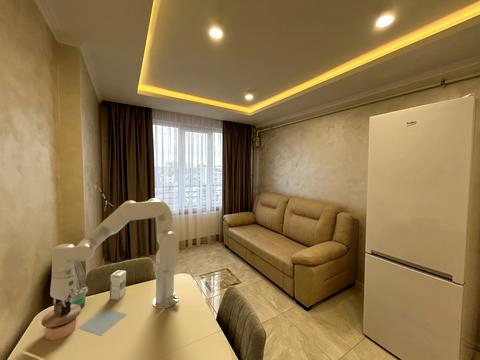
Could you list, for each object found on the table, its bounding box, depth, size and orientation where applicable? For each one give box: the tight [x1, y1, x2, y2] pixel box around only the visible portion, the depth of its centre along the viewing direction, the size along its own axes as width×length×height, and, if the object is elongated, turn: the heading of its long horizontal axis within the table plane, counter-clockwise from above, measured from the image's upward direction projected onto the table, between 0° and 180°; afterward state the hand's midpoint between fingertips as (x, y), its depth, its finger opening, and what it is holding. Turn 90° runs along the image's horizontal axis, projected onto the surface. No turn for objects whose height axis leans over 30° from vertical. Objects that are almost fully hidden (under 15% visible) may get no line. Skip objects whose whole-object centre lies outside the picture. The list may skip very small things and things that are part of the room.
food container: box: [71, 284, 89, 310], centre depth 102 cm, size 12×6×10 cm, turn 168°
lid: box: [41, 300, 82, 328], centre depth 88 cm, size 13×13×6 cm
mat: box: [77, 307, 128, 337], centre depth 95 cm, size 14×14×1 cm
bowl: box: [44, 315, 79, 341], centre depth 88 cm, size 10×10×5 cm
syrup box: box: [109, 269, 127, 300], centre depth 113 cm, size 6×6×14 cm
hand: (62, 312), depth 88 cm, fingers closed on lid, 4 cm apart
